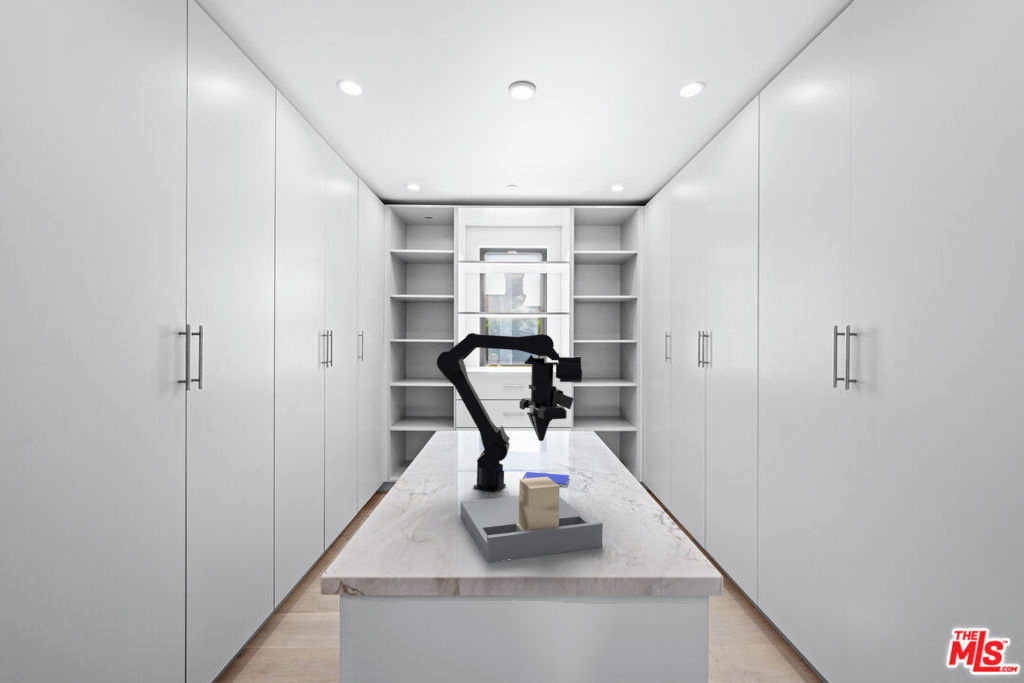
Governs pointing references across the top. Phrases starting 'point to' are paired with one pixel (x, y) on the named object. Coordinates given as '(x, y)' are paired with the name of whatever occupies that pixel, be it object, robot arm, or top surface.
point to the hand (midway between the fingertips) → (541, 440)
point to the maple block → (538, 503)
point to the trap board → (508, 540)
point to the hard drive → (557, 478)
